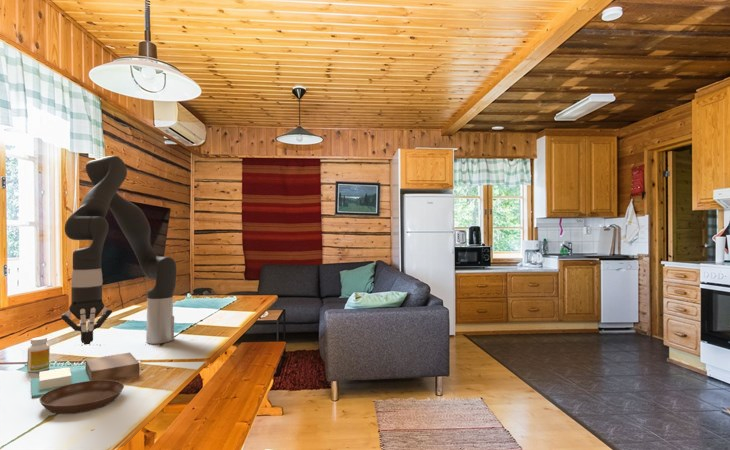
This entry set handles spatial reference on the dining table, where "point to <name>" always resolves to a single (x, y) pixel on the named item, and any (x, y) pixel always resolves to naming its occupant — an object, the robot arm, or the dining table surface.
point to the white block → (54, 378)
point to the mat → (75, 378)
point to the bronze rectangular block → (112, 367)
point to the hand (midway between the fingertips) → (86, 343)
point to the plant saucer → (81, 396)
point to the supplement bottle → (38, 355)
